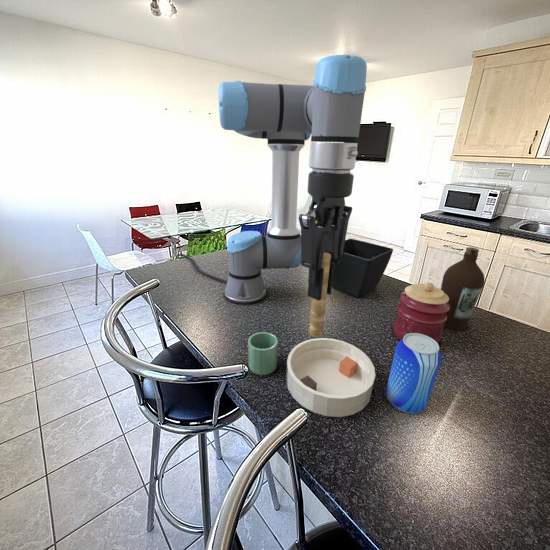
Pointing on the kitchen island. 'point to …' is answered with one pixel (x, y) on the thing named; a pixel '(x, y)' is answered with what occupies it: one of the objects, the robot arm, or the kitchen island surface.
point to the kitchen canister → (421, 311)
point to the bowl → (329, 377)
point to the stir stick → (320, 302)
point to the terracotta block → (347, 367)
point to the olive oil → (462, 289)
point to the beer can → (413, 372)
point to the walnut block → (309, 382)
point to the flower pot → (360, 267)
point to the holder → (262, 353)
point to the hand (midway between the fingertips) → (319, 294)
